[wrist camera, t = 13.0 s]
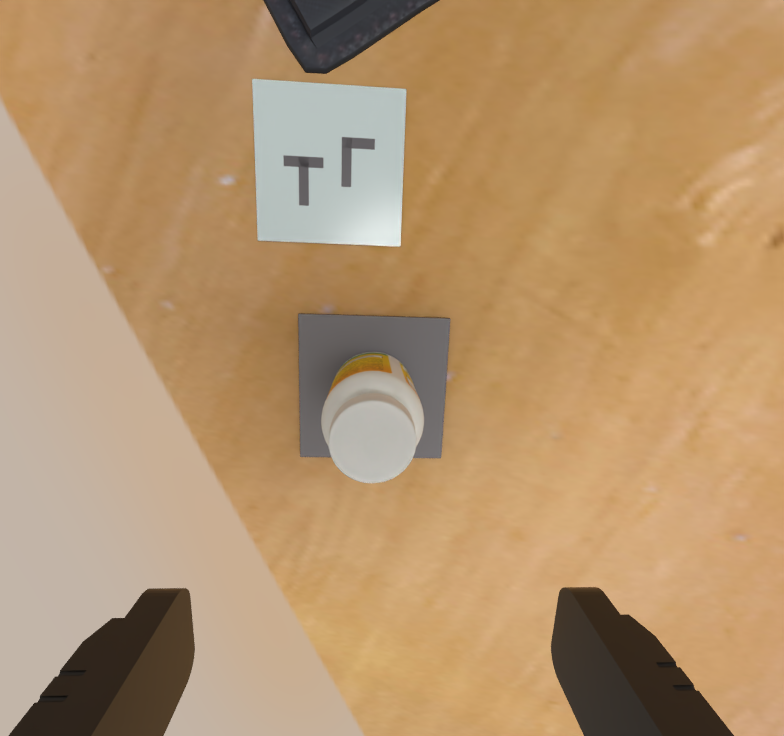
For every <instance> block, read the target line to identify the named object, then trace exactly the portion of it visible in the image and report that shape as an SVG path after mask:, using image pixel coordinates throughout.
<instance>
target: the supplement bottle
mask: <svg viewBox="0 0 784 736" xmlns="http://www.w3.org/2000/svg"><path fill="white" fill-rule="evenodd" d="M321 425H322V432H323V435H324V438H325V441H326V443H327V445H328V446H329V451H330V455H331V457H332V459H333V461H334V463H335V465H336V466H337V467H338V468H339V470H340V471H341V472H342V473H344V474H345V475H346V476H348V477H350V478H351V479H354V480H356V481H359V482H363V483H380V482H385V481H388V480H390V479H392V478H394V477H396V476H398V475H399V474H400V473H401V472H403V471H404V470H405V469H406V468H407V466H408V465H409V464H410V462H411V460H412V459H413V456H414V454H415V450H416V446H417V444H418V443H419V441H420V438H421V436H422V432H423V427H424V413H423V408H422V405H421V402H420V399H419V396H418V394H417V392H416V389H415V387H414V384H413V382H412V379H411V377H410V375H409V373H408V371H407V370H406V368H405V367H404V366H403V364H402V363H401V362H400V361H398V360H397V359H396V358H394V357H392V356H390V355H388V354H385V353H381V352H366V353H362V354H359V355H356V356H354V357H352V358H350V359H349V360H347V361H346V362H345V363H344V364H343V365H342V366H341V368H340V369H339V371H338V372H337V374H336V376H335V378H334V381H333V383H332V386H331V388H330V391H329V394H328V396H327V398H326V401H325V404H324V407H323V410H322V417H321Z"/></svg>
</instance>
